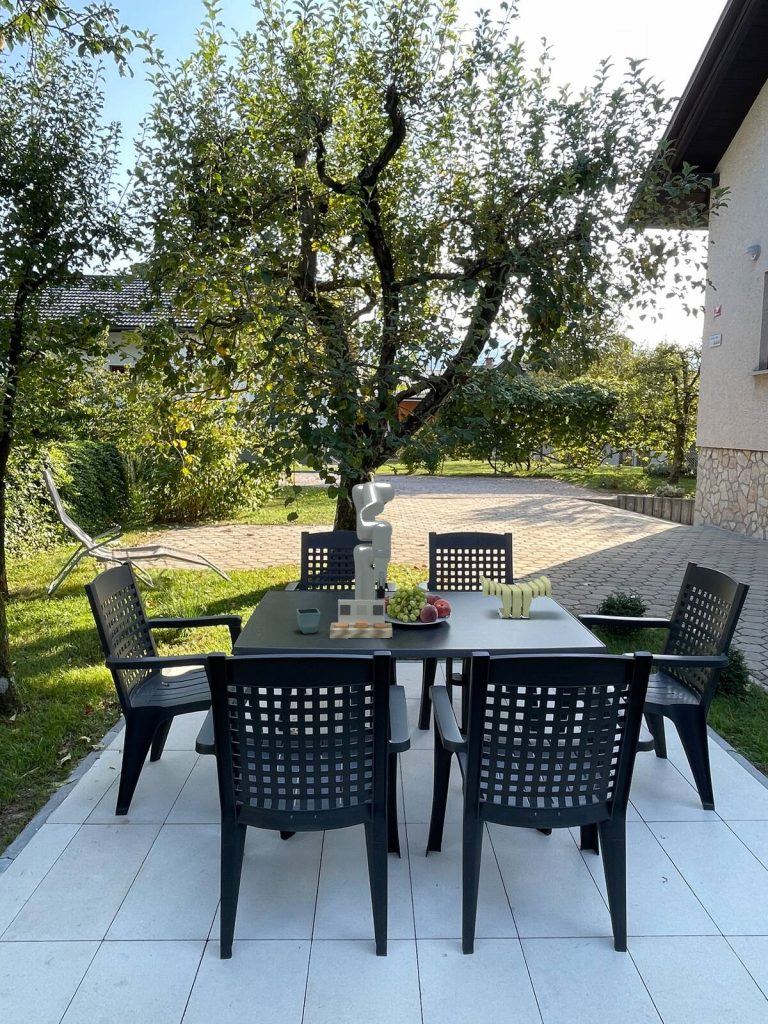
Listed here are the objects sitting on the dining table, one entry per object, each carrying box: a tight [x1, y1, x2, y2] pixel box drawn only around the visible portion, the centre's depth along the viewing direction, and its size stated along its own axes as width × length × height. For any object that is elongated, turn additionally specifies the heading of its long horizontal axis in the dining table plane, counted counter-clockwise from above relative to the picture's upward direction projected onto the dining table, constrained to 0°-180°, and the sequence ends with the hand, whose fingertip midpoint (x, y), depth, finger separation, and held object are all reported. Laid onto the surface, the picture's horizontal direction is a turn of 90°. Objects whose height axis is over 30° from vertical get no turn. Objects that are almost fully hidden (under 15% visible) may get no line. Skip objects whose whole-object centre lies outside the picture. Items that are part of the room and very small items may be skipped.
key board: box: [329, 622, 393, 639], centre depth 295 cm, size 25×12×4 cm, turn 91°
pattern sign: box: [337, 599, 386, 623], centre depth 310 cm, size 20×5×11 cm, turn 91°
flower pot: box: [295, 607, 321, 635], centre depth 298 cm, size 9×9×9 cm
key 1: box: [335, 622, 348, 628], centre depth 295 cm, size 5×5×4 cm
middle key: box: [355, 620, 367, 628], centre depth 295 cm, size 5×5×4 cm
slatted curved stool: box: [479, 574, 552, 618], centre depth 332 cm, size 30×16×18 cm, turn 90°
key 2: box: [375, 622, 388, 628], centre depth 295 cm, size 5×5×4 cm
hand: (380, 598), depth 295 cm, fingers closed
